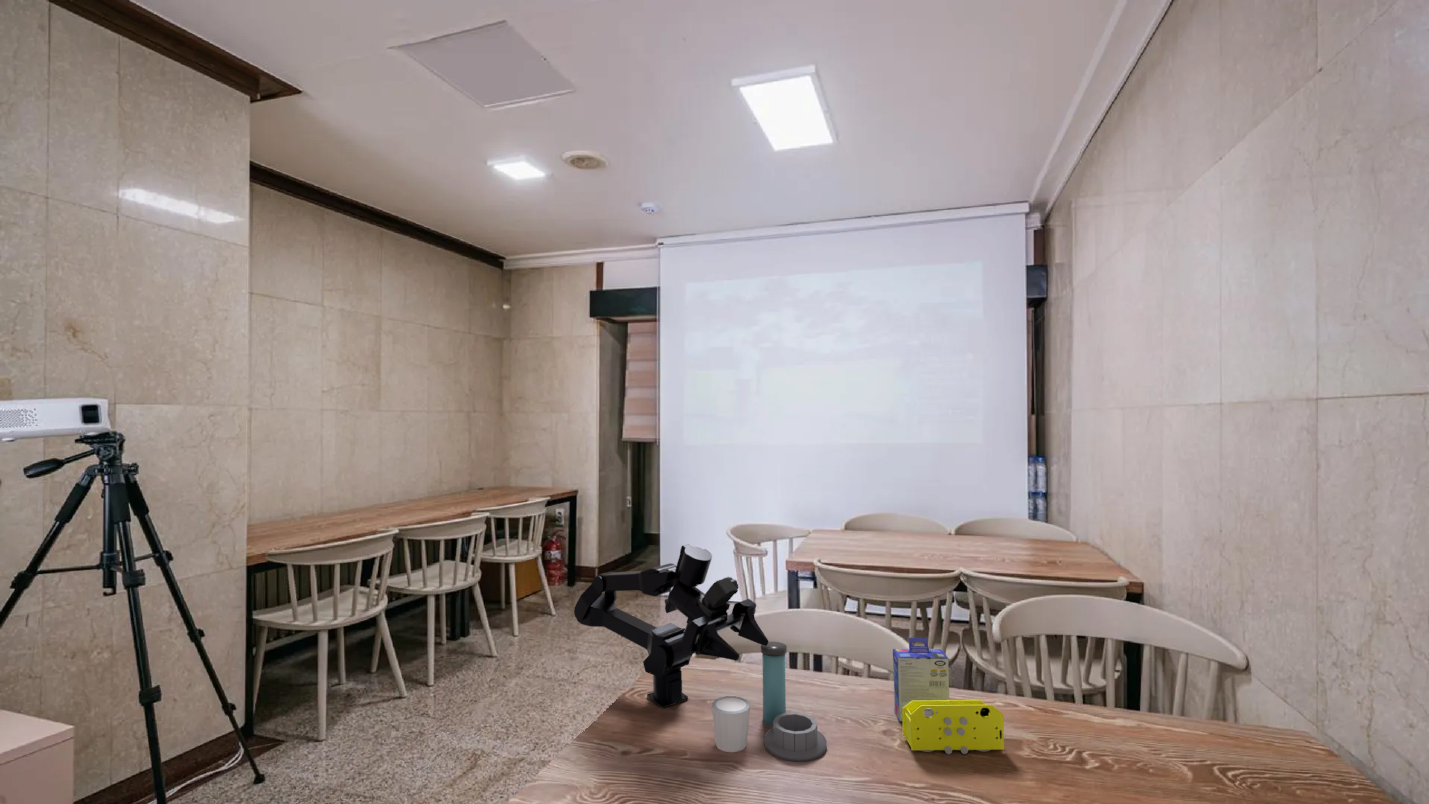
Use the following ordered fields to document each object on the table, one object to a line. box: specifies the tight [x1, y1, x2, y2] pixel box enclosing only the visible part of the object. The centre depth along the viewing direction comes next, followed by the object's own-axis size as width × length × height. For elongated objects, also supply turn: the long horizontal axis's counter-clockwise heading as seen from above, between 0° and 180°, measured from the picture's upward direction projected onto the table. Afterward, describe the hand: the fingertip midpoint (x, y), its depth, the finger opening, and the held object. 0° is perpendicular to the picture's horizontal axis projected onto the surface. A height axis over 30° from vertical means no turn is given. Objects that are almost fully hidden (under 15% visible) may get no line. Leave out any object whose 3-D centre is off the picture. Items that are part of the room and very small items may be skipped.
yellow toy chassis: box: [901, 699, 1005, 755], centre depth 107 cm, size 16×6×8 cm, turn 90°
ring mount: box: [763, 711, 828, 763], centre depth 107 cm, size 11×11×4 cm
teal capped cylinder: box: [760, 641, 788, 726], centre depth 117 cm, size 5×5×14 cm
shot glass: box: [711, 695, 751, 753], centre depth 108 cm, size 7×7×7 cm
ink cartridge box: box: [892, 637, 950, 722], centre depth 118 cm, size 10×6×14 cm, turn 86°
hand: (753, 650), depth 112 cm, fingers open, 9 cm apart
